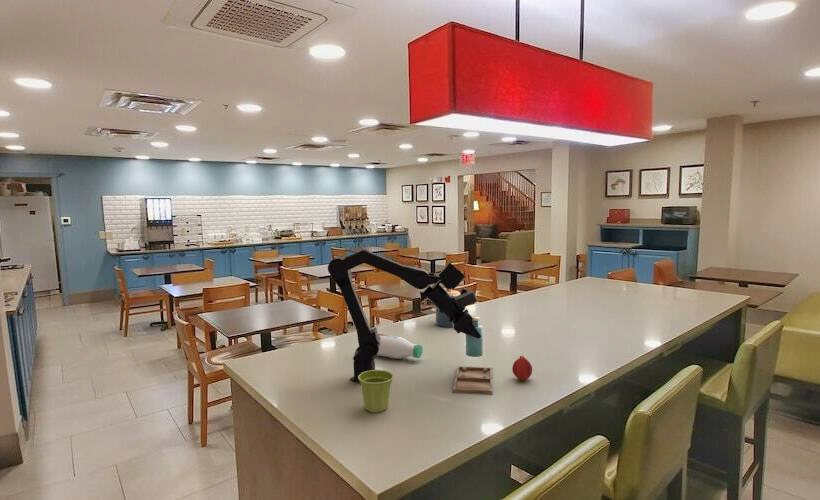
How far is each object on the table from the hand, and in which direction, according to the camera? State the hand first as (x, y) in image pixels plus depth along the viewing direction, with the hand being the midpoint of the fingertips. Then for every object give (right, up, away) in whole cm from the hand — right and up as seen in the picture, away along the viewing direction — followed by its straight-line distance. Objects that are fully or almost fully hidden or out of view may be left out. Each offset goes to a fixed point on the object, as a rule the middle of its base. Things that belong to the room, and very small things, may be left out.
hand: (478, 335), depth 136 cm
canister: (-3, -8, +68) cm, 68 cm away
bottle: (-1, -6, 0) cm, 6 cm away
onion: (+13, -14, -3) cm, 19 cm away
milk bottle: (-35, -8, +26) cm, 45 cm away
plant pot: (-30, -16, -20) cm, 39 cm away
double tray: (-2, -14, -4) cm, 14 cm away
